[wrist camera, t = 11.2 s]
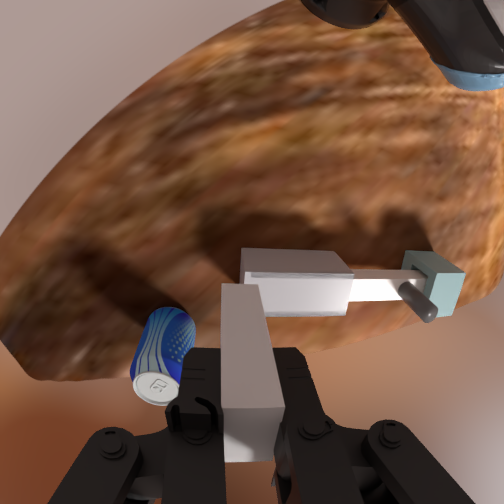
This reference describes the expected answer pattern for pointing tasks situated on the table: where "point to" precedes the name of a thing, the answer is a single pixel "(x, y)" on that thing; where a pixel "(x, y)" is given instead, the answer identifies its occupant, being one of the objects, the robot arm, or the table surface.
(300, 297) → the white rectangular box
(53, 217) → the table surface
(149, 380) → the beer can
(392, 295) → the sliding bolt with handle
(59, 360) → the table surface
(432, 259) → the socket block
